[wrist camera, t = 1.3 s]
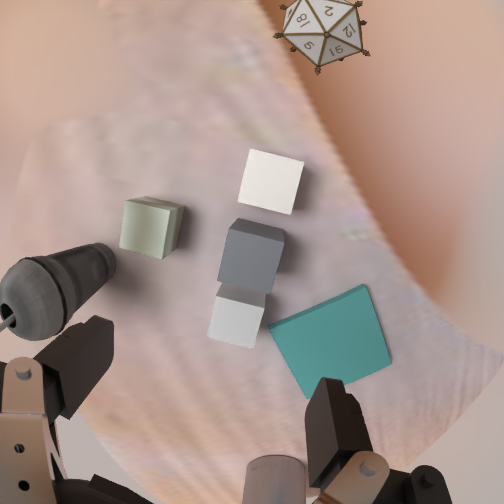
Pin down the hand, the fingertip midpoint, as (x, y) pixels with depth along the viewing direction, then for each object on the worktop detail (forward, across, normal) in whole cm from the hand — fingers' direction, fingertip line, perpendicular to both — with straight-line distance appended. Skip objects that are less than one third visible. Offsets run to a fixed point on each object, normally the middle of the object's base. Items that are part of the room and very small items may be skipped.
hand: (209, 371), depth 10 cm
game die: (+21, -2, -22) cm, 30 cm away
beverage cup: (+21, +16, +6) cm, 27 cm away
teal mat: (+20, -12, +9) cm, 25 cm away
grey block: (+20, 0, +7) cm, 22 cm away
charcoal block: (+20, 0, 0) cm, 21 cm away
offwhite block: (+21, 0, -6) cm, 22 cm away
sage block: (+21, +10, 0) cm, 23 cm away
